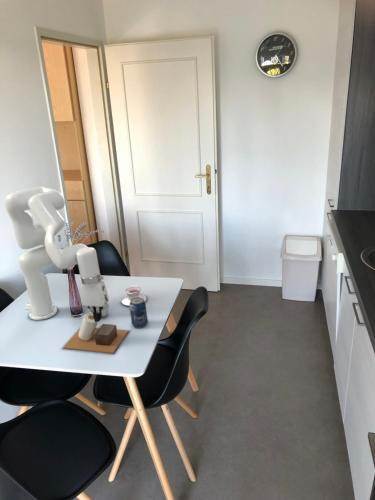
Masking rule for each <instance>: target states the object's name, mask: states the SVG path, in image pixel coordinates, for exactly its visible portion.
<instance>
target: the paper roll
mask: <svg viewBox="0 0 375 500" xmlns="http://www.w3.org/2000/svg"><path fill="white" fill-rule="evenodd" d="M82 317H83V318H82V321H81V324H80V327H79V329H80V331H79V330H78V331H79V337H80V338H81V339H82V340H91V339H92V338H93V335H94V332H95V329H96V328H97V326H98V322H95V320H94V317H93V313H92V312H86V313H84V315H83V316H82Z"/></svg>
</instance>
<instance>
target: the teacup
mask: <svg viewBox="0 0 375 500" xmlns="http://www.w3.org/2000/svg"><path fill="white" fill-rule="evenodd" d="M124 292H125V294H126V296H124V297H123V298H122V299H121V304H122V305H123V306H127V307H130V301H131V300H132V299H133V298H138V297H140V298H143V299H144V301H145V302H146V301H147V296H145V295H144V294H140V293H141V292H142V287H141V286H139V285H130V286H128V287H126V288H125V290H124Z"/></svg>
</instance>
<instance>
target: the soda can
mask: <svg viewBox="0 0 375 500" xmlns="http://www.w3.org/2000/svg"><path fill="white" fill-rule="evenodd" d="M146 304H147V303H146V301H144V299H143V298H140V297H138V298H133V299H132V300H131V301H130V306H129V313H130V319H131V320H130V321H131V325H132V326H133V327H134V328H135V329H142V328H145V327H146V326H147V324H148V321H149V320H148V313H147V312H148V311H147V305H146Z"/></svg>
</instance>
